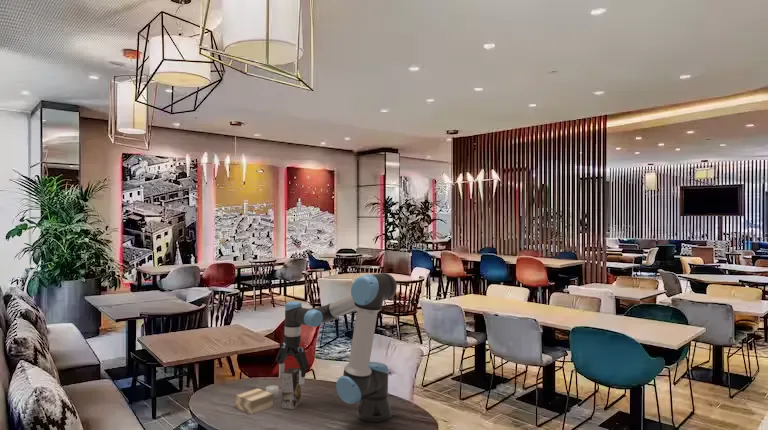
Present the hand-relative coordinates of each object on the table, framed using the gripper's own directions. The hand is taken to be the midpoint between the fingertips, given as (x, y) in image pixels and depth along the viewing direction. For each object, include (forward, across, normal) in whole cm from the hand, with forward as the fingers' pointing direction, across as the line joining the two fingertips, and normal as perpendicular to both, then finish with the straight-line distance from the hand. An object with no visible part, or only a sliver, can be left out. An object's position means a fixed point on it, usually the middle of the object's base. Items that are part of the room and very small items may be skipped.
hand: (291, 380), depth 227 cm
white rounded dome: (+12, +14, -1) cm, 19 cm away
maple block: (+12, +11, +12) cm, 20 cm away
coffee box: (+12, -1, 0) cm, 12 cm away
